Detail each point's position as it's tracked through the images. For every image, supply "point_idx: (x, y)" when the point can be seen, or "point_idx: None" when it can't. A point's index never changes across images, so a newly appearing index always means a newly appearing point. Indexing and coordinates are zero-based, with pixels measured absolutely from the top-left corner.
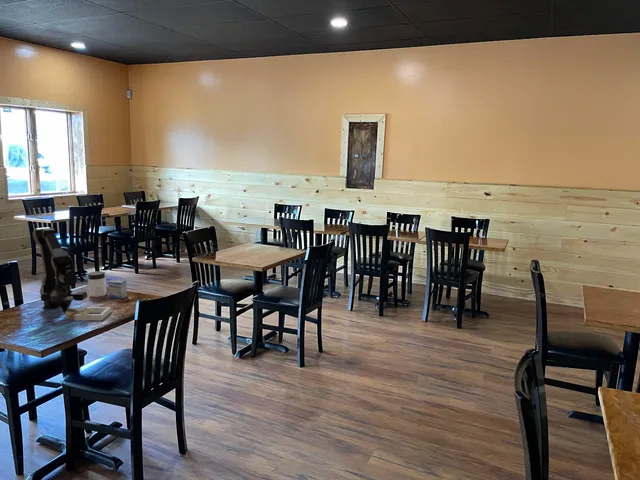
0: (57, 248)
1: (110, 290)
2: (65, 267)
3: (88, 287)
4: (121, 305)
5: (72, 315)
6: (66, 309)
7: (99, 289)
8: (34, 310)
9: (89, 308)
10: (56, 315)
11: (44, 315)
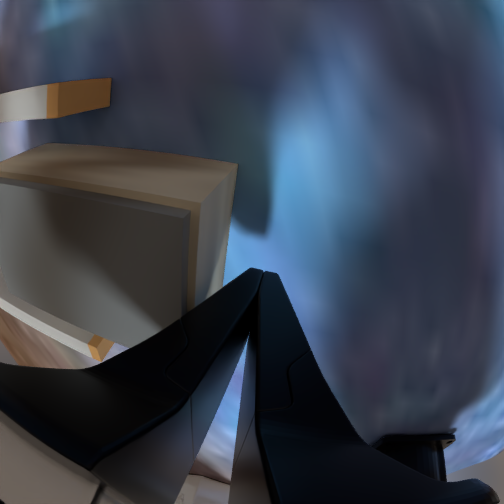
0: None
1: None
2: None
3: None
4: (21, 350)
5: (123, 161)
6: (209, 299)
7: (178, 500)
8: (497, 412)
9: (52, 321)
10: (388, 313)
11: (485, 331)
